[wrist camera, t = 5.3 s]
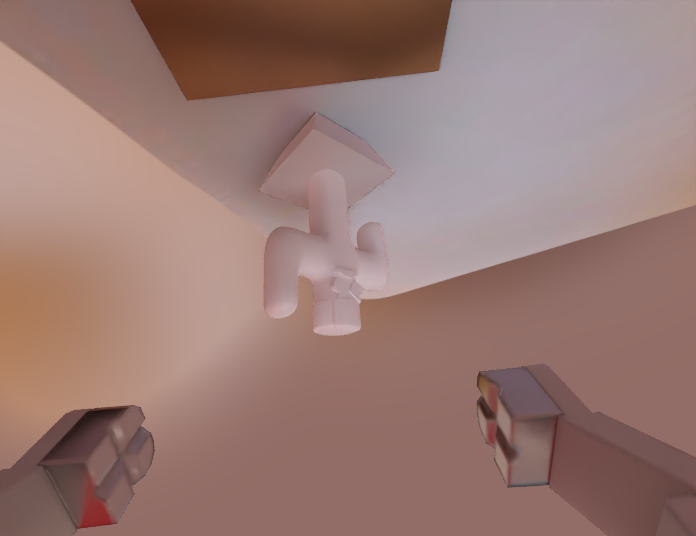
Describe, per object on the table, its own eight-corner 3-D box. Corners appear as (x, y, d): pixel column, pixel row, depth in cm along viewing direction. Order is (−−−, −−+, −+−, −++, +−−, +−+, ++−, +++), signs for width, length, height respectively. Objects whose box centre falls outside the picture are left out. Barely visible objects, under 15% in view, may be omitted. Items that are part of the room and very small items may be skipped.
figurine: (340, 188, 33) (357, 350, 27) (245, 147, 27) (237, 341, 21) (397, 141, 28) (434, 325, 22) (296, 77, 22) (306, 304, 16)
